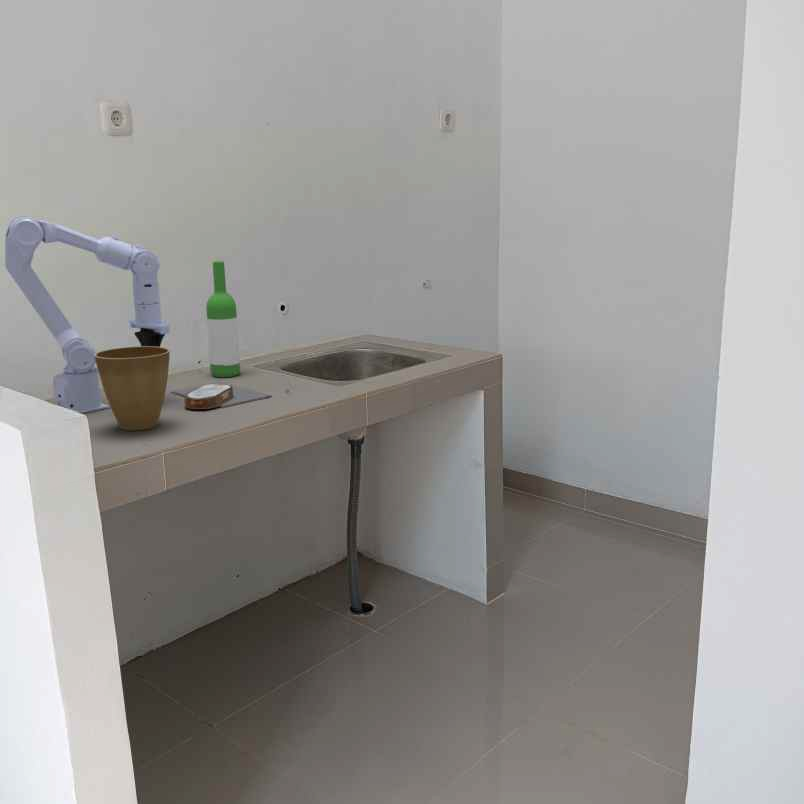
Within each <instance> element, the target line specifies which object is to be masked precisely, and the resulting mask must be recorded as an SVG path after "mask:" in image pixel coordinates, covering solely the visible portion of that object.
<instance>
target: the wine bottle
mask: <svg viewBox="0 0 804 804" xmlns="http://www.w3.org/2000/svg"><path fill="white" fill-rule="evenodd" d="M225 268H226V267H225V262H224V261H223V260H216V261H212V274H213V294H211V295H210V297H209V298H208V299H207V301H206V321H207V322H206V325H207V337H208V351H209V352H208V353H209V366H210V375H211V376H213V377H215V378H220V377H225V378H233V377H236V376H239V374H240V372H241V366H240V364H241V363H240V362H241V361H240V348H239V347H240V346H239V332H238V331H239V329H238V313H237V304H236V301H235V300H234V298H233V297H232V296H233V295H231V294H229V293H228V292H227V286H226V283H227V281H226V272H225V271H226V269H225ZM232 376H233V377H232Z"/></svg>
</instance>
